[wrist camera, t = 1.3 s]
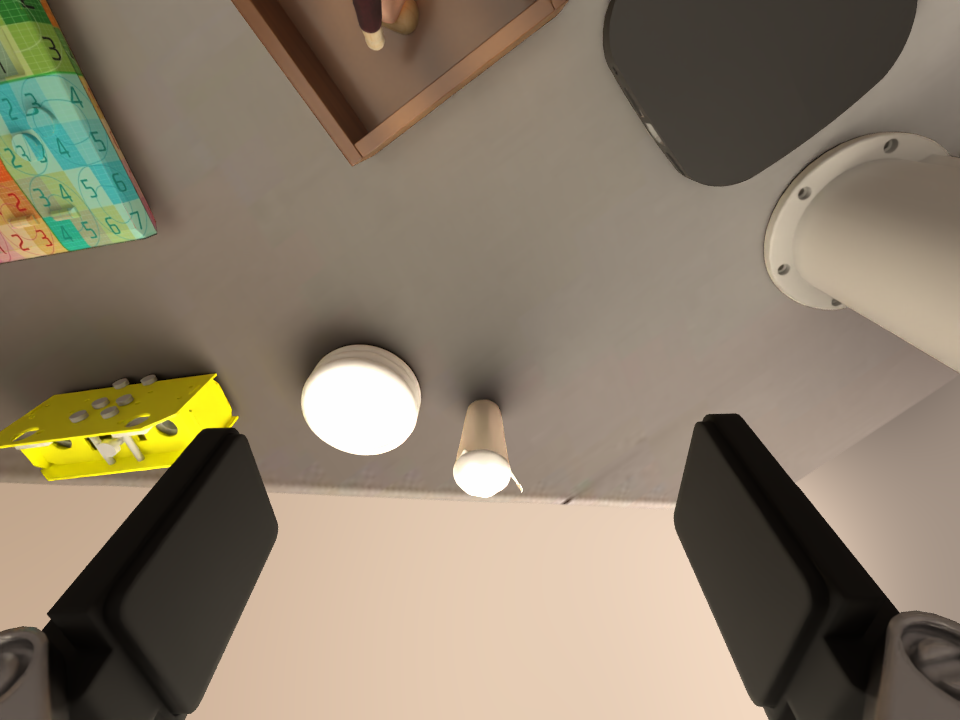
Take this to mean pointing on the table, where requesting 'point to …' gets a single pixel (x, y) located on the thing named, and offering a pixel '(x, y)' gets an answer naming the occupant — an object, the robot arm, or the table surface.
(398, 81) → the crate
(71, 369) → the table surface
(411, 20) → the grandmother figurine
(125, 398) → the yellow toy chassis
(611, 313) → the table surface
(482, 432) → the milkshake
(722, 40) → the media streaming box
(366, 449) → the white short cylinder
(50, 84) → the puzzle game
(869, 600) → the robot arm
